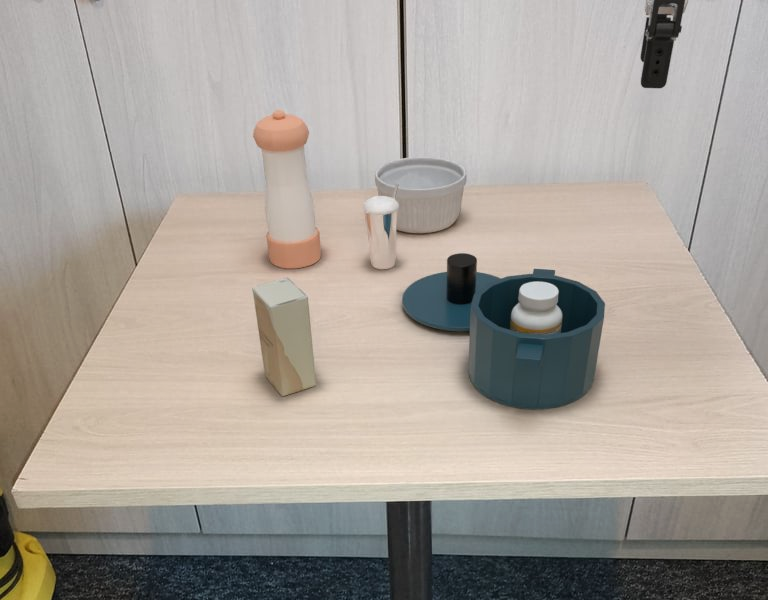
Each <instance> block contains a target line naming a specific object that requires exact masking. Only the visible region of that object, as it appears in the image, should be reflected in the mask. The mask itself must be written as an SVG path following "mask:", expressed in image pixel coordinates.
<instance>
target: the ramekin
mask: <svg viewBox="0 0 768 600" xmlns="http://www.w3.org/2000/svg"><path fill="white" fill-rule="evenodd" d="M374 183H375V184H374V185H375V186H376V188H377V196H387V197H391V198H393V194H394V190H395V186H396V184H398V189H397V193H396V197H395V200H396V201H397V202H398V204H399V208H398V222H397V231H399V232H404V233H408V234H409V233H410V234H429V233H436V232H439V231H442V230H445V229H448V228H450V227H451V226H453V224H454V223H455V222H456V221H457V219H458V218H459V216H460V213H461V209H462V203H463V197H464V190H465V186H466V184H467V170H466V168H465V167H464V166H463V165H462V164H460V163H458V162H455V161H454V160H450V159H446V158H441V157H435V156H433V157H432V156H414V157H413V156H412V157H411V156H410V157H404V158H399V159H394V160H390V161H388V162H386V163H384V164H382V165H381V166H379V167H378V168H377V169H376V170H375V172H374Z"/></svg>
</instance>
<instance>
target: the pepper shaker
mask: <svg viewBox="0 0 768 600" xmlns="http://www.w3.org/2000/svg"><path fill="white" fill-rule="evenodd" d="M309 134H310V130H309V128H308V126H307V124H306V122H305V121H304V120H303V118H301V117H299V116H296V115H293V114H289V113H285V111H284V110H281V109H276V110H274V111H273V112H272V114H271V115H267V116H265V117H263V118H262V119H260V120H259V121H257V123H256V125H255V127H254V129H253V134H252V137H253V139H254V142H255V145H256V146H257V147H258V148H259V149H260V150H261V158H262V166H263V174H264V181H265V184H264V212H265V213H264V214H265V219H266V224H267V233H266V236H265V237H266V238H265V239H266V244H267V245H266V246H267V251H268V258H269V261H270V263H271V264H272V265H274V266H276V267H277V268H281V269H300V268H305V267H309V266H312V265H314V264H316V263H317V262H318V261H319V260H321V257H322V247H321V237H320V231H319V229H318V227H317V223H316V207H315V202H314V198H313V195H312V191H311V187H310V182H309V179H308V173H307V170H308V169H307V162H306V153H305V145H306V144H307V142H308V139H309Z"/></svg>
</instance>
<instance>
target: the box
mask: <svg viewBox="0 0 768 600" xmlns="http://www.w3.org/2000/svg"><path fill="white" fill-rule="evenodd" d="M252 295H253V302H254V308H255V316H256V323H257V331H258V338H259V344H260V350H261V358H262V365H263V371H264V376H265V377H266V379H267V380H268V382H269V383H270V384H271V385H272V386H273V388H275V390H276V392H277V393H279V395H280V396H281V397H285V396H288V395H292V394H294V393H297V392H301V391H304V390H307V389H309V388H312V387H316V386H317V380H316V372H315V371H316V370H315V357H314V347H313V337H312V325H311V317H310V306H309V305H310V304H309V296H308V295H307V294H306V292H304V291H303V290H302V289H301V288H300V287H299V286H298V285H297V284H296V283H295V282H294V281H293V280H292V279H290V277H283V278H280V279H277V280H274V281H270V282H267V283H263V284H259V285H256V286H253V287H252Z"/></svg>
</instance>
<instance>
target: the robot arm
mask: <svg viewBox="0 0 768 600" xmlns="http://www.w3.org/2000/svg"><path fill="white" fill-rule="evenodd" d="M688 3H689V0H645V3H644V13H645V16H646V18H645V25H644V31H643V38H642V43H641V49H640V50H641V51H640V61H641V62H642V63H643V64H642V70H641V76H640V86H641V87H642V88H643V89H663V88H664V87H665V86H666V85H667V82H668V76H669V72H670V66H671V61H672V55H673V48H674V43H675V42H676V41H677V38H679V35H680V34H681V32H682V29H683V26H682V20H683V14H685V12H686V10H687V7H688ZM668 16H669V17H668ZM671 16H672V17H671Z"/></svg>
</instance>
